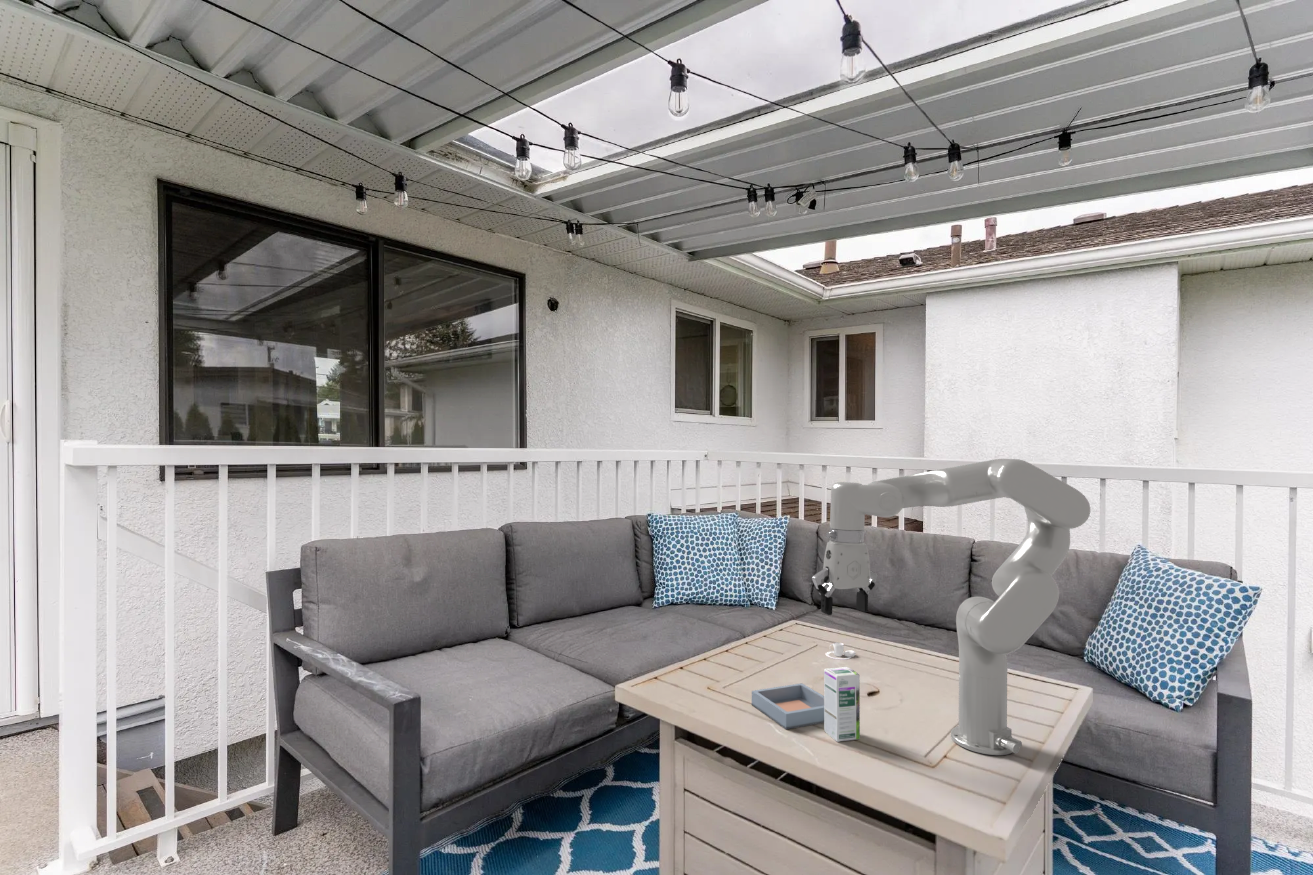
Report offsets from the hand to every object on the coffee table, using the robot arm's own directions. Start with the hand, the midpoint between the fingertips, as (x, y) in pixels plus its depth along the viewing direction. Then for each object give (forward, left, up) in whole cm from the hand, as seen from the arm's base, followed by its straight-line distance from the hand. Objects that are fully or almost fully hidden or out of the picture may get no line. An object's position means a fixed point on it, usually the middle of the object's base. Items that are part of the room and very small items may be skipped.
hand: (844, 612), depth 145 cm
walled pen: (+14, +4, -27) cm, 31 cm away
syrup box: (-1, +1, -27) cm, 27 cm away
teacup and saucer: (+42, -35, -28) cm, 61 cm away
